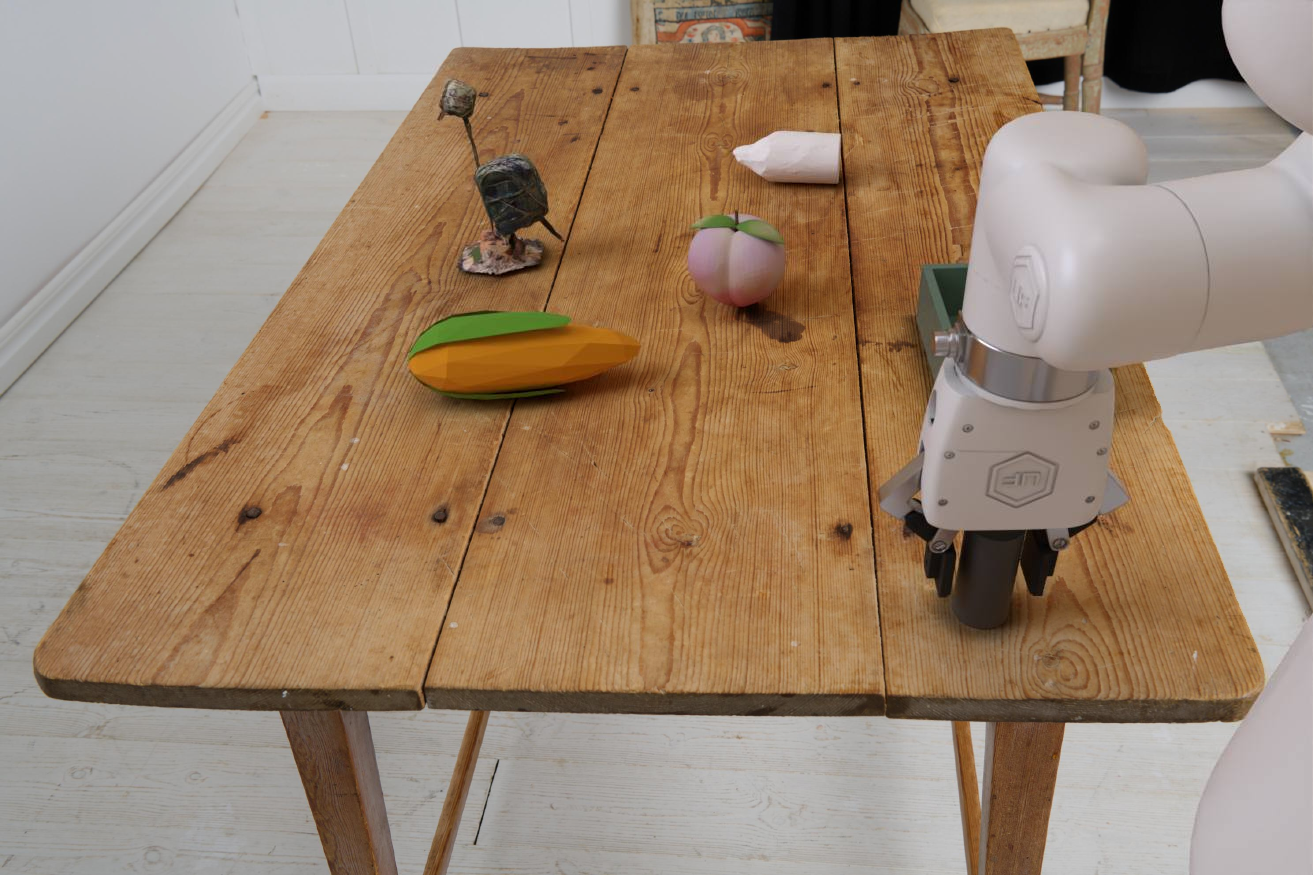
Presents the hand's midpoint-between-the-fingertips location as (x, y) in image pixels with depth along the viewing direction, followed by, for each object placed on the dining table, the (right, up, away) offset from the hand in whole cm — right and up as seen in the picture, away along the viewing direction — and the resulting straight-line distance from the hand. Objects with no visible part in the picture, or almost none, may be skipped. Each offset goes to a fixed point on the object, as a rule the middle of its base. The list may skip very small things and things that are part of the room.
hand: (985, 578), depth 69 cm
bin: (+8, +15, +23) cm, 29 cm away
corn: (-32, +14, +25) cm, 43 cm away
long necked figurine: (-36, +27, +43) cm, 62 cm away
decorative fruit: (-13, +22, +33) cm, 42 cm away
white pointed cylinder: (-6, +39, +53) cm, 66 cm away
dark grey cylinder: (0, -2, +2) cm, 3 cm away
